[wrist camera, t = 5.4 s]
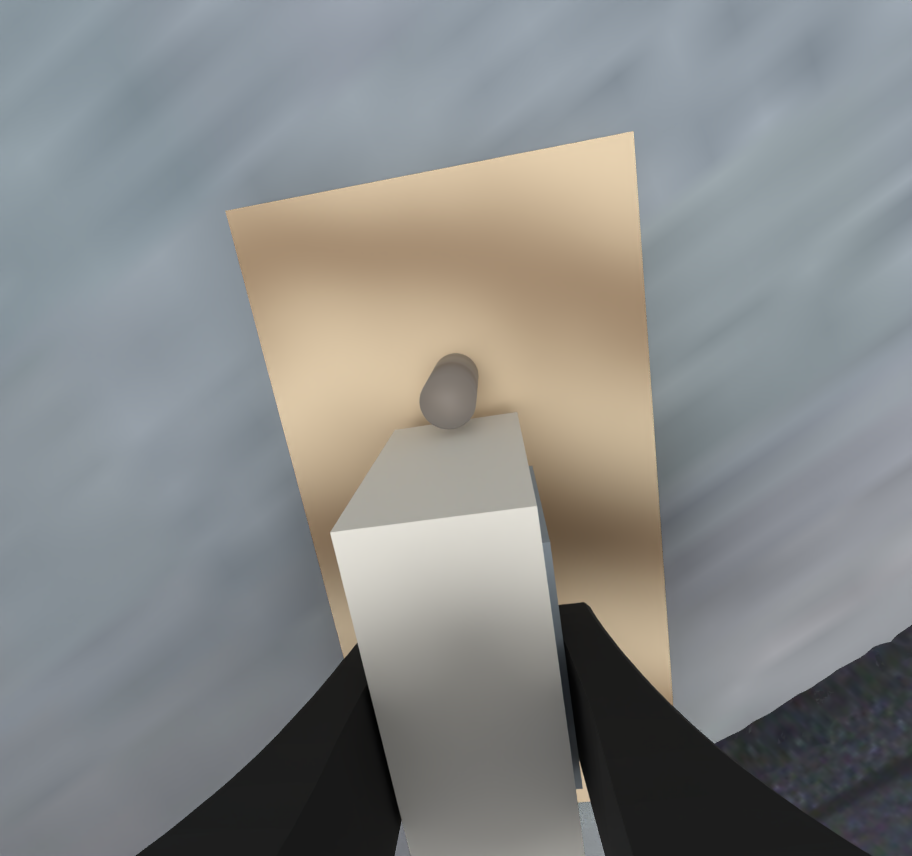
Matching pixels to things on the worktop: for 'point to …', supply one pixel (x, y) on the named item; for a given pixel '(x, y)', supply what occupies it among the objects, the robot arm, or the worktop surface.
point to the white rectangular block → (464, 642)
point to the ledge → (477, 353)
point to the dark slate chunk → (844, 750)
